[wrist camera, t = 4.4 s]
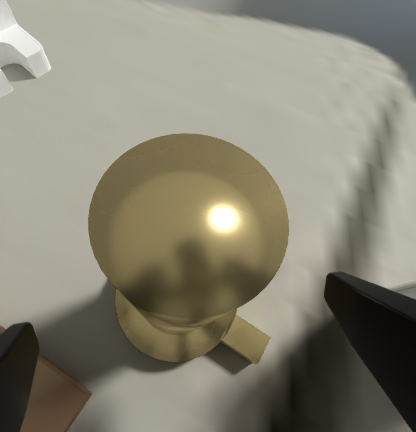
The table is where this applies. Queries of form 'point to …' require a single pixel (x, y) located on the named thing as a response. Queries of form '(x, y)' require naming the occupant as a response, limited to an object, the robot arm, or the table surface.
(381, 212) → the table surface
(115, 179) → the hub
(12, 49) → the white phone stand
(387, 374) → the robot arm
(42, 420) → the base plate
